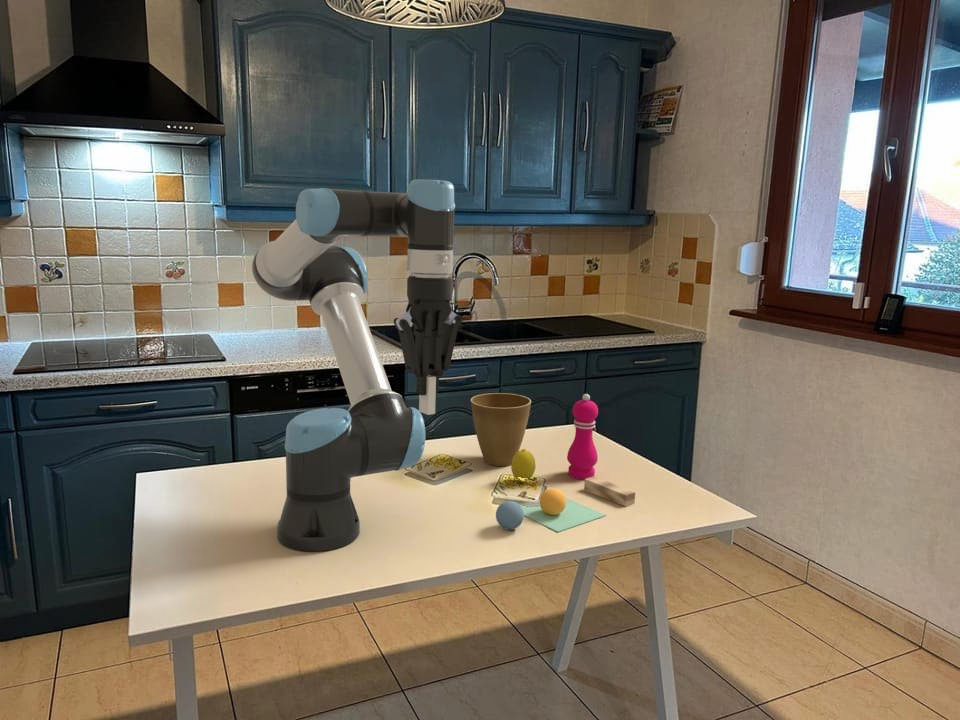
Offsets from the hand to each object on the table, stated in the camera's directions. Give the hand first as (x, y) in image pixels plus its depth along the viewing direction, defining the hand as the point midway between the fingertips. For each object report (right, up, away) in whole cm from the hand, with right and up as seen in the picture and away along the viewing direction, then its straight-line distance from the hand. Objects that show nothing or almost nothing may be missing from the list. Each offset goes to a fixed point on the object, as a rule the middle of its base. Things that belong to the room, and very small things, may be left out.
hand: (427, 412), depth 125 cm
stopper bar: (+38, -21, +36) cm, 56 cm away
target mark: (+25, -23, +26) cm, 43 cm away
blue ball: (+15, -21, +17) cm, 31 cm away
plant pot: (+14, -17, +56) cm, 60 cm away
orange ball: (+24, -20, +24) cm, 40 cm away
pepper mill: (+33, -19, +49) cm, 62 cm away
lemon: (+19, -19, +43) cm, 51 cm away
